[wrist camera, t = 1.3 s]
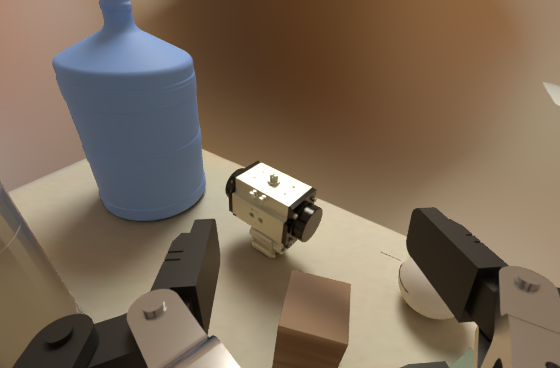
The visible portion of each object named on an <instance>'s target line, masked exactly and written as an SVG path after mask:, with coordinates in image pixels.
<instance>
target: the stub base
mask: <svg viewBox="0 0 560 368" xmlns="http://www.w3.org/2000/svg"><path fill="white" fill-rule="evenodd" d="M473 359H474V351H473V350H472V349H471V348H469V349H468V350H467V351H466V352H465V353H464V354H463V355H462V356H461V357H460V358H459V359H458V360H457V361H456V362H455V363H454V364H453V365H452V366H451V367H450V368H473Z"/></svg>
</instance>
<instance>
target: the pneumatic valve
mask: <svg viewBox="0 0 560 368" xmlns="http://www.w3.org/2000/svg"><path fill="white" fill-rule="evenodd" d="M315 194H316V189H314V188H312V187H310V186H308V185H306V184H304V183H302V182H300V181H298V180H296V179H294V178H292V177H290V176H288V175H286V174H284V173H282V172H279V171H278V170H275V169H273V168H271V167H269V166H267V165H265V164H263V163H261V162H259V161H257V162H255V163H253V164H251V165H250V166H248V167H246V168H241V169H238V170H236V171H235V172H234V173H233V174H232V175H231V176H230V178H229V179H228V182H227V184H226V195H227V197H229V211H231V212H233V215H235V216H236V217H238V218H239V219H241V220H243V221H244V222H246V223H247V224H249V225H250V226H252V227H251V229H250V235H251V236H253V241H252V242H251V244H252V246H253V247H254V248H256V249H257V250H259V251H260V252H262V253H263V254H265V255H266V256H268V257H269V258H275V257H276V254H275V253H276V252H277V253H279V254H280V255H281V254H283V253H284V252H285V251H286V250H287V249H289V248H290V247H291V246H292V245H293V244H294V243H295V242H296V241H297V240H300V241H301V242H306V241H308V240H309V239H310V238H311V237H312V235H313V234H314V233H315V231H316V229H317V228H318V226H319V223H320V221H321V218H322V209H321V208H320V207H318V206H316V205H314V202H316V200H317V198H316V197H315Z"/></svg>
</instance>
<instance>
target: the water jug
mask: <svg viewBox="0 0 560 368" xmlns="http://www.w3.org/2000/svg"><path fill="white" fill-rule="evenodd" d="M99 5H100V8H101V9H102V13H103V17H104V26H103V28H102V29H101V30H99V31H98V32H96V33H94V34H92V35H90V36H89V37H87V38H85V39H83V40H81V41H80V42H78V43H76V44H74V45H72V46H70V47H69V48H67V49H65V50H63V51H61V52H60V53H58V54H57V55H56V56H55V57H54V59H53V62H52V64H53V68H54V70H55V73H56V79H57V82H58V85H59V88H60V91H61V93H62V96H63V98H64V100H65V101H66V102H67V105H68V108H69V111H70V113H71V116H72V119H73V121H74V124H75V126H76V129H77V131H78V134H79V137H80V139H81V142H82V147H83V149H84V152H85V155H86V158H87V160H88V162H89V163H90V166H91V169H92V172H93V175H94V177H95V180H96V183H97V185H98V188H99V194H100V197H101V200H102V202H103V204H104V206H105V207H106V208H107V209H108V210H109V211H110V212H111V213H113V214H114V215H116V216H118V217H121V218H124V219H128V220H134V221H153V220H160V219H164V218H168V217H171V216H174V215H177V214H179V213H181V212H183V211H185V210H187V209H188V208H190V207H191V206H192V205H194V204H195V203H196V202H197V201H198V200H199V199H200V197H201V196H202V194H203V192H204V190H205V185H206V181H205V173H204V170H203V160H202V150H201V141H202V140H201V130H200V126H199V119H198V109H197V99H196V78H195V71H194V69H193V60H192V58H191V56H190V55H189V54H188V53H186V52H185V51H184V50H182V49H179V48H177V47H175V46H173V45H171V44H169V43H167V42H165V41H163V40H161V39H159V38H156V37H154V36H152V35H150V34H148V33H146V32H144V31H142V30H140V29H139V28H137V26H136V25H135V23H134V20H133V15H132V6H131V3H130V2H129V0H100V1H99Z"/></svg>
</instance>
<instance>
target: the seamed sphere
mask: <svg viewBox="0 0 560 368" xmlns="http://www.w3.org/2000/svg"><path fill="white" fill-rule="evenodd" d="M381 253H382V252H381ZM384 254H385V253H384ZM386 255H387V254H386ZM388 256H389V255H388ZM390 257H392V256H390ZM393 258H394V257H393ZM395 259H397V258H395ZM398 260H399V259H398ZM400 261H401V260H400ZM398 284H399V287H400V291H401V293H402V296H403V298H404V299H405V301H406V302H407V304H408V305H409V306H410V307H412V308H413V309H414V310H415V311H416V312H418V313H420V314H421V315H423V316H425V317H429V318H432V319H450V318H453V317H455V316H454V315H453V314H452V312H451V311H450V310H449V308H448V307H447V305H446V304H445V303H444V301H443V300H442V299H441V297H440V296H439V295H438V293H437V292H436V290H435V289H434V288H433V286H432V285H431V284H430V282H429V281H428V280H427V278H426V277H425V275H424V274H423V273H422V271H421V270H420V269H419V267H418V266H417V264H416V263H415V262H414V260H413V259H412V258H411V256H410V257H409V258H407V259H406V261H405V262H403V264H402V265H401V267H400V269H399V276H398Z"/></svg>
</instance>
